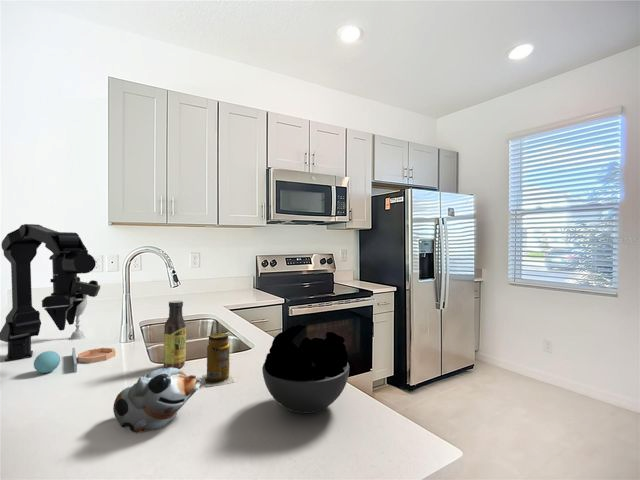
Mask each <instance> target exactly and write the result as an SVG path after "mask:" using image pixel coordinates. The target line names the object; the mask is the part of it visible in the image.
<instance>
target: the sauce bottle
mask: <svg viewBox="0 0 640 480" xmlns="http://www.w3.org/2000/svg"><path fill="white" fill-rule="evenodd" d="M183 306H184V301H183V300H171V301H170V300H169V301H168V318H167V320H166V321H165V323H164V331H163V332H164V333H163V351H162V352H163V353H162V354H163V355H162V356H163V357H162V362H163V369H165V368H170V367H171V368H177V369H181V368H182V367H184V366H185V363H186V352H187V351H186V350H187V349H186V348H187V347H186V346H187V326H186V323H185V320H184V317H183Z"/></svg>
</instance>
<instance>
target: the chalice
mask: <svg viewBox="0 0 640 480" xmlns="http://www.w3.org/2000/svg"><path fill="white" fill-rule="evenodd" d="M79 300H84V301H83V302H82V303H81V304H80V305H79V306H78V308H77V312H76V316H75V320H74V322H75V325H74V326H75V331H73V332H72V333H71V335H70V337H69V339H70V340H80V338H81V339H84V338H86V335H85V334H84V331H83V330H81V329H80V326H81V324H80V321H81V319H80V316H82V315H83V314H84V311H85V309H86V307H87V304H88V295H86V298H85V299H81V298H80V299H79ZM83 337H84V338H83Z"/></svg>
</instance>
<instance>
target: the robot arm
mask: <svg viewBox="0 0 640 480" xmlns="http://www.w3.org/2000/svg"><path fill="white" fill-rule="evenodd" d="M42 244H45V245H44V246H45V248H46V249H47V250H49V251H50V252H51V253H52V254H51V255H50V256H49V257H48V259H49V260H51V261H52V262H51V263H52V264H51V265H52V268H51V269H52V278H50V283H52V292H51V293H50V295H48V296H45V297H43V299H42V300H41V307H42V308H43V309H44V311H46V313H47V314H48V316H49V317H50V318H51V320H52V321H53V323H54V325H55V326H56V327H57V329H58V330H59V331H64V330H65V328H66V323H67V324H68V325H69V326H70V325H74V324H75V320H76V312H77V308H78V306H79V305H80V304H81V303H82V302H83V301H84V300H79V299H80V298H81V299H85V298H86V295H87V296H88V297H92V298H95V297H97V296H98V294H99V291H100V290H101V285H100V284H99V283H98V280H95V279H91V280H90V281H89V282H86V281H85V282H84V281H81V277H80V276H78V274H79V275H80V274H82V275H83V274H89V273H91V272H92V271H93V270H94V269H95V267H96V264H97V261H96V260H95V258H94V256H93V255H92V254H90V253H89V250H88V249H87V247H86V246H85V244H84V243H83V240H82V239H81V237H80V235H79V234H78V233H77V232H73V231H72V232H70V231H69V232H66V231H65V232H63V231H62V232H60V231H57V230H54V229H51V228H48V227H44V226H43V225H40V224H33V223H31V224H28V223H24V224H21V225H20V226H19V227H18V228H16V229H15V230H13V231H10V232H8V233H7V234H6V236H5V237H4V239H3V240H2V241H1V249H2V251H3V256H4V258H5V259H6V260H7V261H8V262H9V263H10V268H11V269H10V270H11V271H10V272H11V274H10V275H11V299H12V300H11V302H12V304H11V306H12V307H11V309H10V310H9V312H8V314H7V315H6V316H5V323H4V325H3V326H2V328H1V330H0V341H2V342H5V343H7V354H6V356H5V358H4V361H5V362H7V361H14V360H19V359H20V360H21V359H25V358H32V357H33V354H34V350H32V337H37V336H39V334H40V332H41V331H40V330H41V326H42V322H41V318H40V316H41V314H40V313H41V312H40V311H39V310H37V309H36V308H34V306H33V295H32V269H31V266H32V265H31V263H32V262H33V260H34V259H35V257H36V255H37V253H38V249H39V247H40V246H41V245H42Z"/></svg>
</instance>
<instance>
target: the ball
mask: <svg viewBox="0 0 640 480" xmlns="http://www.w3.org/2000/svg"><path fill="white" fill-rule="evenodd" d="M60 363H61V356H60V355H59V353H57V352H56V351H54V350H48V351H43V352H41V353H39V355H37V356H36V358H35V359H34V360H33V368H34V369H35V371H36V372H39V373H41V374H46V373H47V374H48V373H51V372H53V371H55V370H56V369H57V368H58V366H59V365H60Z"/></svg>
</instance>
